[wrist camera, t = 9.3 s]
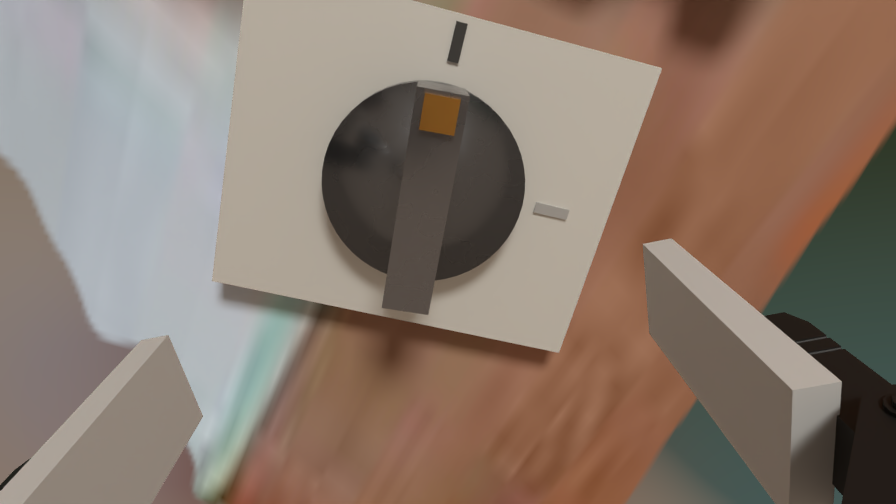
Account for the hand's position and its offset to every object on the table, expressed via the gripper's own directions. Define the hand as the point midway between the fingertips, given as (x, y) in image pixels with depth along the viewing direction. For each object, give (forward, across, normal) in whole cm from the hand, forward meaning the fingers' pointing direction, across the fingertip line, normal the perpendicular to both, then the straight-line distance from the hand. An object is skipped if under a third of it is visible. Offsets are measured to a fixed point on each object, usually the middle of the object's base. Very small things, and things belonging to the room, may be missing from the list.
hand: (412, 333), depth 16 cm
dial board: (+20, 0, 0) cm, 20 cm away
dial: (+18, 0, 0) cm, 18 cm away
